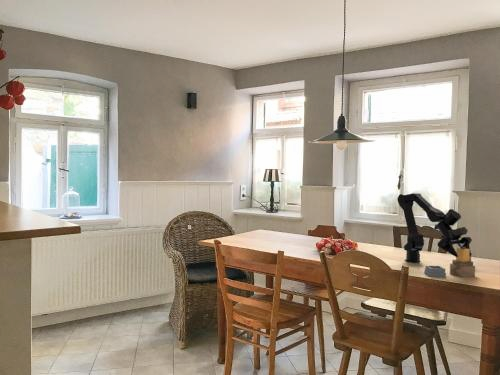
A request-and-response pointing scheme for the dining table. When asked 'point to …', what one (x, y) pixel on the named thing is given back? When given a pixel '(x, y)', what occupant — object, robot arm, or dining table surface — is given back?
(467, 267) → the upper dock
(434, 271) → the lower dock
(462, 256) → the plug
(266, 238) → the dining table surface
